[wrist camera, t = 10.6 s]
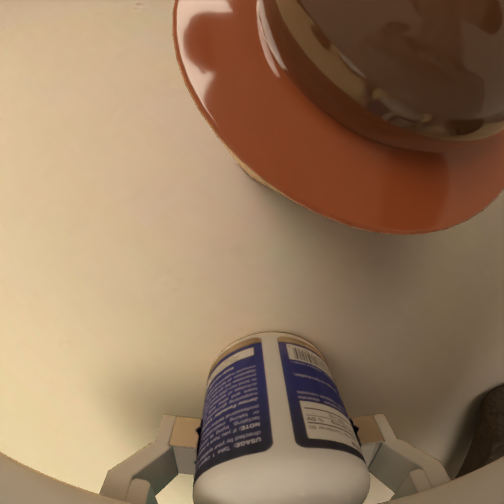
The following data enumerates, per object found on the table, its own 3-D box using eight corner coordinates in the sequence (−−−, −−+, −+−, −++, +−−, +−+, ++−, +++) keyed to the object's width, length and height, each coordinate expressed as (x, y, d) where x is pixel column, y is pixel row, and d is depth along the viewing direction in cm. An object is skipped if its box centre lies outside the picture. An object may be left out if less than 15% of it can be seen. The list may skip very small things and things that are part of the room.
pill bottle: (220, 421, 15) (207, 589, 5) (198, 333, 13) (146, 549, 4) (326, 409, 15) (373, 571, 5) (327, 318, 13) (423, 518, 3)
